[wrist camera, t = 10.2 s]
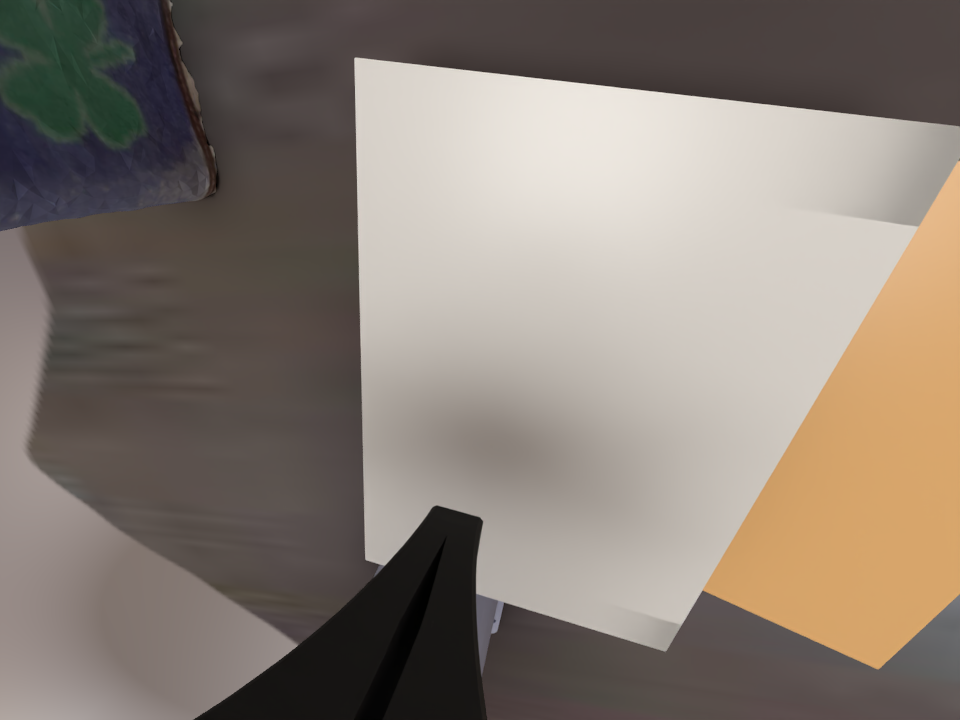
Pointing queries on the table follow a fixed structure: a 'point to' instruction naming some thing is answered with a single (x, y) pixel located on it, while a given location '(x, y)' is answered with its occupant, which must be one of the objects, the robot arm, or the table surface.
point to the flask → (96, 111)
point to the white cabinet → (607, 317)
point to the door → (870, 472)
